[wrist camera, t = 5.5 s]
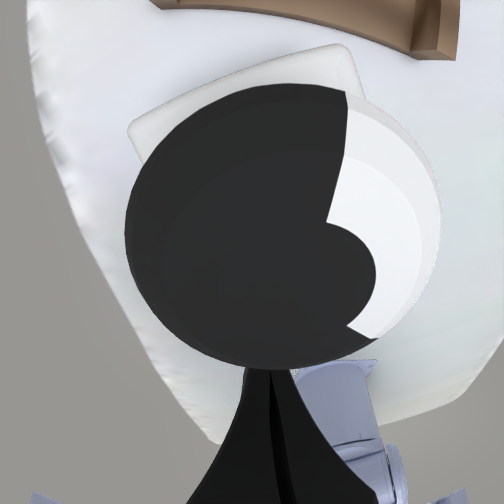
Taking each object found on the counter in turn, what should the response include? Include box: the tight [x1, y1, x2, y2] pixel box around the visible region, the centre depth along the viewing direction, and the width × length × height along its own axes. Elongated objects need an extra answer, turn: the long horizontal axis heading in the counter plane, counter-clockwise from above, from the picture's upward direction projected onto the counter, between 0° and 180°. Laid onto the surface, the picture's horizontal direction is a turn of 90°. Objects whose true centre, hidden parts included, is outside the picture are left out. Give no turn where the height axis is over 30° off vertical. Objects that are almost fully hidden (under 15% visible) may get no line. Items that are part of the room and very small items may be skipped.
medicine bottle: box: [124, 44, 442, 370], centre depth 9 cm, size 7×7×12 cm
